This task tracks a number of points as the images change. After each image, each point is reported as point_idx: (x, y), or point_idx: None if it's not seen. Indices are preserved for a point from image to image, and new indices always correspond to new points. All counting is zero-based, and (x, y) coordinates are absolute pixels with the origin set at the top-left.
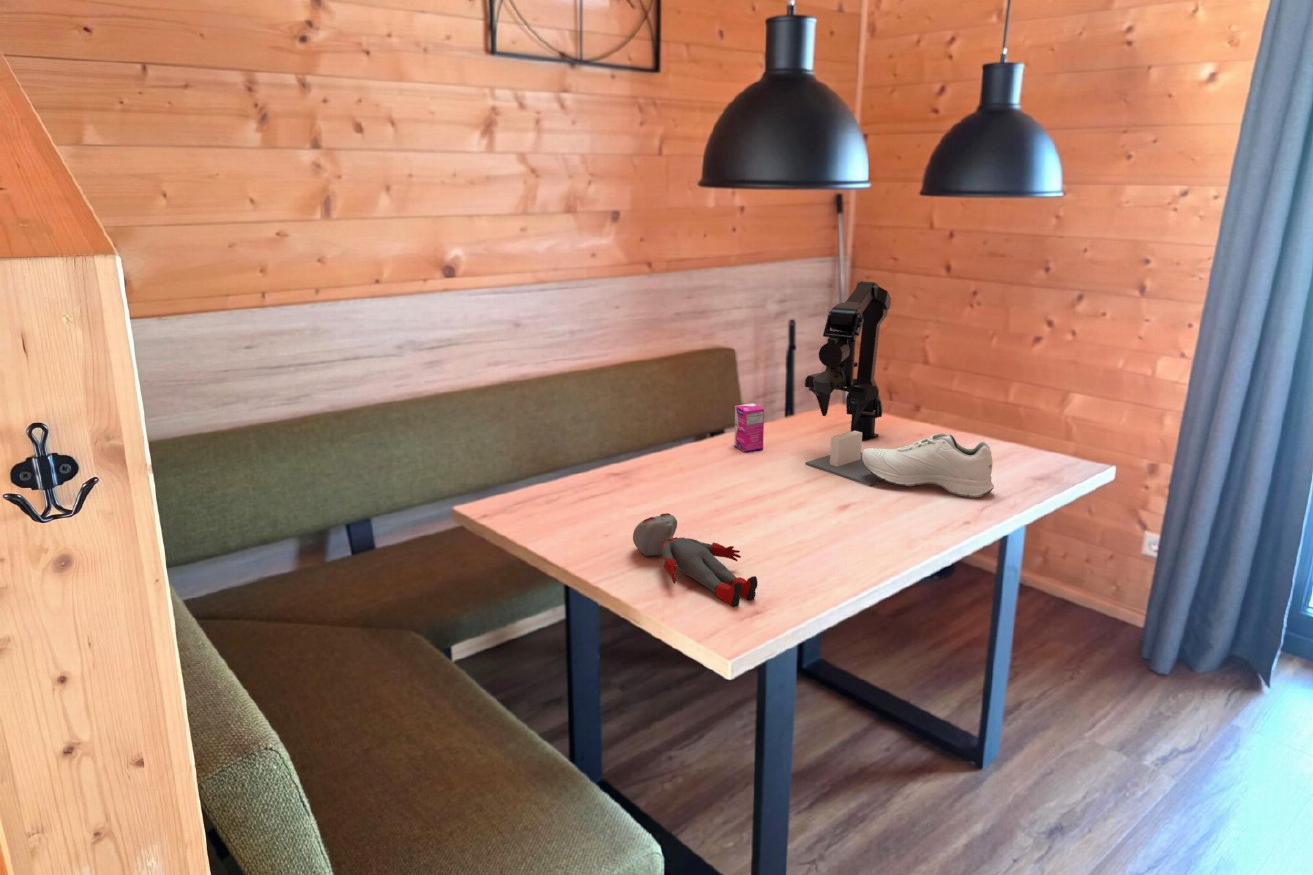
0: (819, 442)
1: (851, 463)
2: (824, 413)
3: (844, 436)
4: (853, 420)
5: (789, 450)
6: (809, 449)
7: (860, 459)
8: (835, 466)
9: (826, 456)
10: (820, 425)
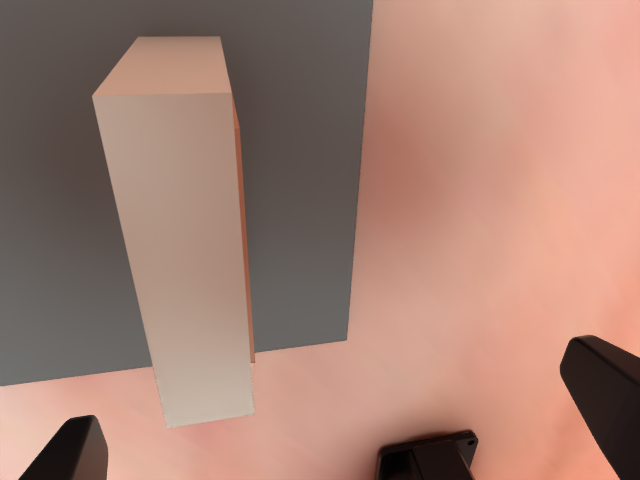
0: (522, 302)
1: None
2: (592, 371)
3: (165, 241)
4: (25, 471)
5: (602, 81)
6: (513, 191)
7: None
8: (150, 29)
9: (350, 152)
10: None
